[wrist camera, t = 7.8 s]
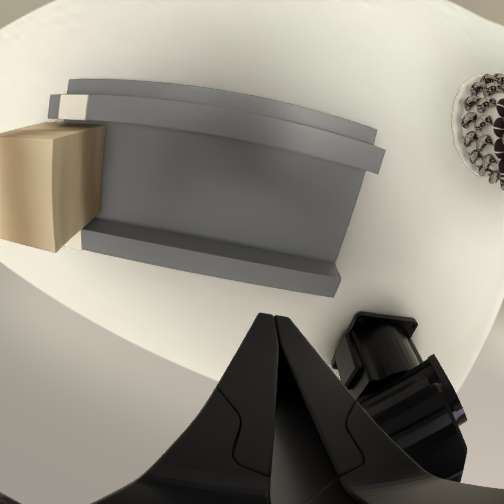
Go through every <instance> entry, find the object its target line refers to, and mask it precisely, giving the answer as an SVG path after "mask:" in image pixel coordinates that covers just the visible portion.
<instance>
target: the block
mask: <svg viewBox="0 0 504 504" xmlns="http://www.w3.org/2000/svg"><path fill="white" fill-rule="evenodd" d="M105 132H106V125H95V124H79V123H57V122H45V123H40V124H36V125H32V126H27V127H23V128H19V129H15V130H12V131H8V132H4V133H1V134H0V239H4V240H8V241H11V242H15V243H19V244H23V245H26V246H30V247H34V248H38V249H42V250H46V251H50V252H54V253H56V252H57V251H58V250H59V249H60V248H61V247H62V246H63V245H65V244H66V243H67V242H68V241H69V240H70V239H71V238H72V237H73V236H74V235H76V234H77V233H78V232H79V231H80V230H81V229H82V228H83V227H85V226H86V225H87V224H88V223H89V222H90V221H91V220H93V219H94V218H95V217H96V216H97V215H98V214H100V211H101V182H102V166H103V153H104V142H105Z"/></svg>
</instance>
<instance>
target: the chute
mask: <svg viewBox="0 0 504 504" xmlns="http://www.w3.org/2000/svg"><path fill="white" fill-rule="evenodd" d="M48 118H53V119H64V123H79V124H95V125H106V132H105V142H104V153H103V166H102V182H101V211H100V214H98V215H97V216H96V217H95V218H94V219H93V220H91V221H90V222H89V223H88V224H87V225H86V226H85V227H83V228H82V229H81V230H80V231H79V232H78V233H77V234H76V235H74V236H73V237H72V238H71V239H70V240H69V241H68V242H67V243H66V244H65V245H63V246H62V247H67V248H71V249H75V250H80V251H82V250H87V251H91V252H96V253H101V254H105V255H110V256H114V257H119V258H124V259H128V260H133V261H138V262H143V263H147V264H152V265H157V266H162V267H167V268H172V269H177V270H182V271H187V272H192V273H197V274H203V275H208V276H213V277H218V278H224V279H229V280H234V281H240V282H245V283H251V284H256V285H262V286H268V287H273V288H279V289H285V290H291V291H296V292H302V293H308V294H314V295H321V296H327V297H333V298H334V296H335V293H336V291H337V289H338V286H339V284H340V281H341V277H340V274H339V272H338V270H337V268H336V265H335V261H336V259H337V256H338V253H339V250H340V248H341V245H342V242H343V239H344V236H345V233H346V230H347V228H348V225H349V222H350V219H351V216H352V213H353V210H354V207H355V204H356V200H357V197H358V194H359V191H360V188H361V185H362V181H363V178H364V175H365V172H366V171H369V172H372V173H375V174H379V170H380V167H381V164H382V160H383V157H384V154H385V149H382V148H380V147H378V146H375V145H373V144H374V140H375V137H376V133H377V130H376V129H373V128H371V127H368V126H365V125H362V124H359V123H356V122H353V121H349V120H346V119H343V118H340V117H336V116H333V115H330V114H326V113H323V112H319V111H315V110H312V109H308V108H304V107H300V106H296V105H292V104H288V103H284V102H280V101H275V100H271V99H266V98H262V97H257V96H252V95H247V94H241V93H236V92H230V91H224V90H218V89H211V88H204V87H197V86H189V85H181V84H172V83H162V82H150V81H135V80H112V79H69V83H68V90H67V94H56V95H50V102H49V111H48Z"/></svg>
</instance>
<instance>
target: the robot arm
mask: <svg viewBox="0 0 504 504" xmlns="http://www.w3.org/2000/svg"><path fill="white" fill-rule="evenodd" d="M360 318H362V319H360ZM412 324H413V325H412ZM417 326H418V323H417V321H416V320H415V319H409V318H401V317H393V316H385V315H378V314H370V313H363V312H360V313H358V314H356V315H355V317H354V319H353V321H352V323H351V325H350V327H349V329H348V331H347V333H346V334H345V335H344V336H343V338H342V340H341V342H340V344H339V346H338V348H337V350H336V352H335V354H334V358H333V360H332V362H331V365H332V368H333V369H338V371H339V375H340V379H341V381H340V380H339V379H338V377H337V376H336V375H335V374H334V373H333V371H332V370H331V369H330V368H329V366H328V365H327V364H326V363H325V362H324V360H323V359H322V358H321V357H320V355H319V354H318V353H317V352H316V350H315V349H314V348H313V347H312V345H311V344H310V343H309V342H308V341H307V339H306V338H305V337H304V336H303V334H302V333H301V332H300V331H299V329H298V328H297V327H296V326H295V324H294V323H293V322H292V321H291V319H290V318H288V317H284V316H278V315H275V316H273V315H271V314H265V313H259V314H258V315H257V317H256V319H255V320H254V322H253V324H252V326H251V327H250V329H249V331H248V333H247V334H246V336H245V338H244V340H243V341H242V343H241V345H240V347H239V348H238V350H237V352H236V354H235V355H234V357H233V359H232V360H231V362H230V364H229V366H228V367H227V369H226V371H225V372H224V374H223V376H222V377H221V379H220V381H219V383H218V384H217V386H216V388H215V389H214V391H213V392H212V394H211V396H210V397H209V399H208V401H207V402H206V403H205V405H204V407H203V408H202V409H201V411H200V412H199V414H198V415H197V416H196V418H195V419H194V420H193V421H192V423H191V424H190V425H189V426H188V427H187V429H186V430H185V431H184V432H183V433H182V434H181V435H180V437H179V438H178V439H177V440H176V441H175V442H174V443H173V444H172V445H171V446H170V447H169V449H168V450H167V451H166V452H165V453H164V454H163V455H162V456H161V457H160V458H159V459H158V460H157V461H156V462H155V463H154V464H153V465H152V466H151V467H150V468H149V469H148V470H147V471H146V472H145V473H144V474H143V475H141V476H140V477H139V478H137V479H136V480H135V481H133V482H131V483H130V484H128V485H126V486H124V487H122V488H121V489H119V490H117V491H115V492H113V493H111V494H109V495H107V496H105V497H103V498H101V499H99V500H97V501H95V502H93V503H91V504H504V489H497V488H489V487H482V486H476V485H470V484H464V483H460V481H461V477H462V473H463V469H464V464H465V459H466V454H467V446H466V444H465V441H464V439H463V436H462V434H461V431H460V429H459V427H458V426H460V425H461V424H463V423H465V422H466V421H467V418H466V415H465V412H464V410H463V407H462V405H461V403H460V401H459V399H458V396H457V394H456V392H455V390H454V388H453V386H452V384H451V383H450V381H449V379H448V377H447V376H446V374H445V372H444V370H443V369H442V367H441V365H440V363H439V362H438V360H437V358H436V357H435V355H434V354H433V355H431V356H429V357H428V359H427V360H425V361H424V362H423V360H422V358H421V356H420V355H419V353H418V351H417V349H416V347H415V345H414V343H413V341H412V339H411V336H412V334H413V333H414V331H415V329H416V328H417ZM0 504H21V503H19V502H17V501H15V500H14V499H12V498H10V497H8V496H6V495H4V494H3V493H1V492H0Z"/></svg>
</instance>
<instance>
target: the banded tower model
mask: <svg viewBox="0 0 504 504" xmlns="http://www.w3.org/2000/svg"><path fill="white" fill-rule="evenodd" d="M451 125H452V132H453V139H454V145H455V147H456V149H457V151H458V153H459V155H460V158H461V160H462V162H463V163H464V164H465V165H466V166H467V167H468V168H469V169H470V170H471V171H472V172H473V173H474V174H475V175H477V176H481V177H484V178H487V179H489V182H490V183H491V184H493V183H496V182H497V181H498V179H500V184H501V188H502V189H503V190H504V75H503V74H495V75H490V74H486V75H474V76H473V77H471V78H470V79H469V80H467V81H466V82H464V83H463V84H462V85H461V87H460V89H459V91H458V93H457V95H456V97H455V99H454V103H453V111H452V119H451Z"/></svg>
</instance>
